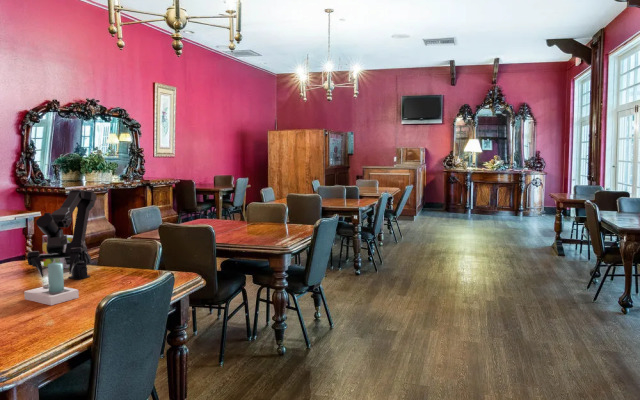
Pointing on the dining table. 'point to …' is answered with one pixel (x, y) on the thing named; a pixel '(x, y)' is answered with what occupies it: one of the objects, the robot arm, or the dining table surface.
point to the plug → (55, 278)
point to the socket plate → (45, 298)
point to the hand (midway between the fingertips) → (56, 275)
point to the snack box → (58, 260)
